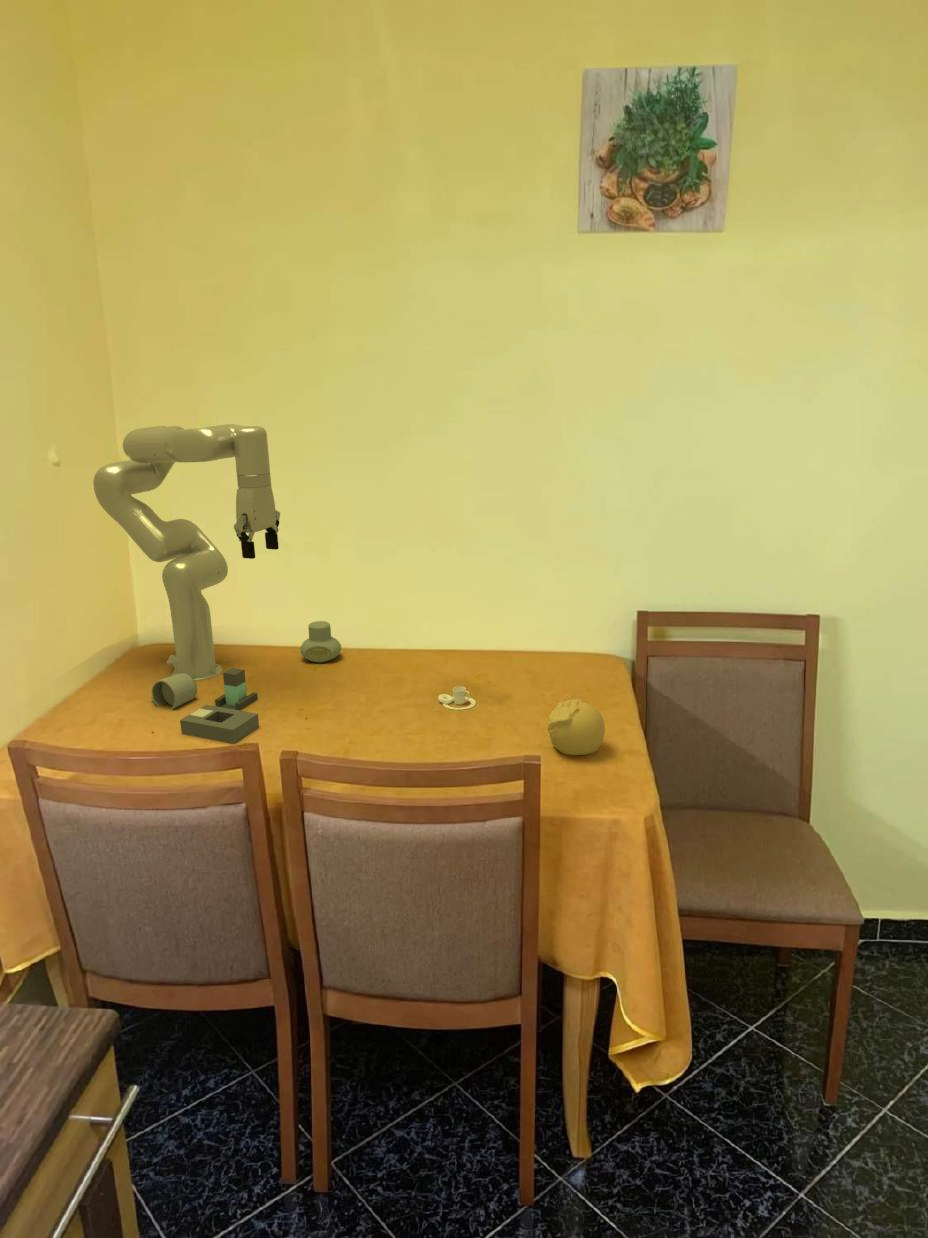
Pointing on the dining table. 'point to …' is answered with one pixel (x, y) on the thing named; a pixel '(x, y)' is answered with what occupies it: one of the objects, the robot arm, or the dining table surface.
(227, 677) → the plug
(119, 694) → the dining table surface
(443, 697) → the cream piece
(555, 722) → the sculpture
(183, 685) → the ceramic mug
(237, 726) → the port panel
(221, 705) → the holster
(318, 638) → the air freshener
